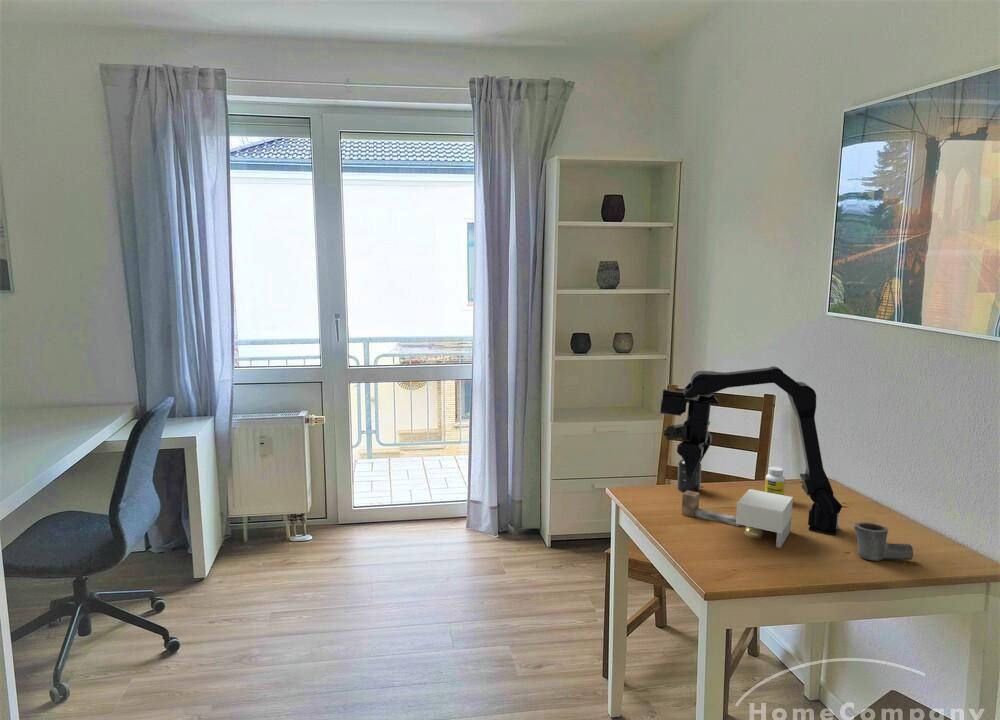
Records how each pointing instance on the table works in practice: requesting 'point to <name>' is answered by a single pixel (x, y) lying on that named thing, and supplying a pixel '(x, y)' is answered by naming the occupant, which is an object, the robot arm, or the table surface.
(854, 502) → the table surface
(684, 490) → the supplement bottle
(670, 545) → the table surface
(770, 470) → the supplement bottle
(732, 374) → the robot arm
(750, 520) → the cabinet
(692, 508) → the taupe block mallet
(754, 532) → the token
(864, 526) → the pipe
